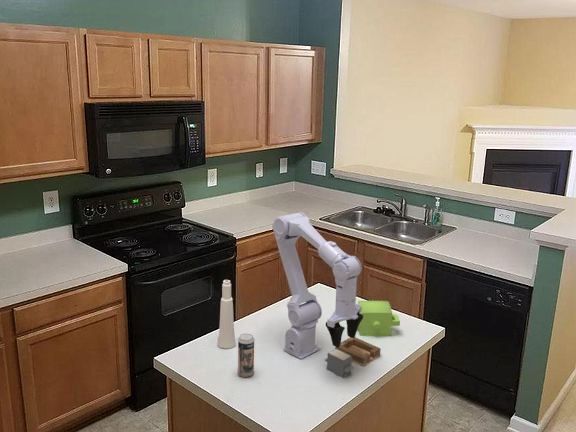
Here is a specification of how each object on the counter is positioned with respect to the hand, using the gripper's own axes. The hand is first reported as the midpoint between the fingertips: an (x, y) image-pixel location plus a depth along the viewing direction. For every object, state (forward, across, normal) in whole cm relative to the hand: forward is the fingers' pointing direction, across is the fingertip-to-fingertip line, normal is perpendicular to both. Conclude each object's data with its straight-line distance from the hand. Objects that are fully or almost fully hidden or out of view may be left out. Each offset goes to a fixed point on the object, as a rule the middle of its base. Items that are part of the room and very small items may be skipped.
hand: (343, 341), depth 159 cm
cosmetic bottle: (+9, -13, +36) cm, 40 cm away
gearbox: (+10, +28, +8) cm, 30 cm away
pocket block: (+10, +11, +2) cm, 15 cm away
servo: (+10, -1, +1) cm, 10 cm away
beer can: (+10, -21, +20) cm, 30 cm away
